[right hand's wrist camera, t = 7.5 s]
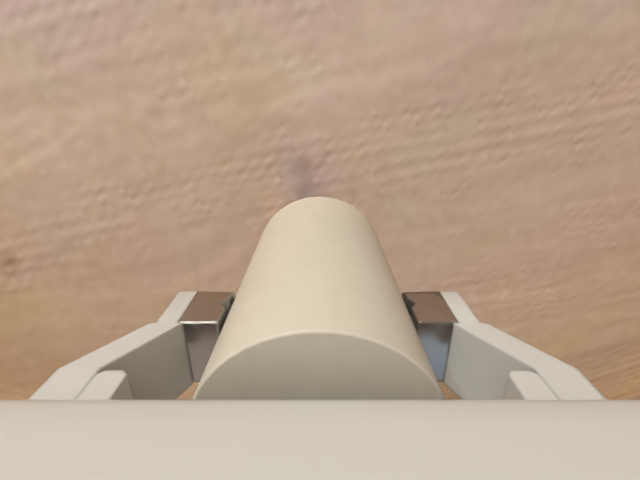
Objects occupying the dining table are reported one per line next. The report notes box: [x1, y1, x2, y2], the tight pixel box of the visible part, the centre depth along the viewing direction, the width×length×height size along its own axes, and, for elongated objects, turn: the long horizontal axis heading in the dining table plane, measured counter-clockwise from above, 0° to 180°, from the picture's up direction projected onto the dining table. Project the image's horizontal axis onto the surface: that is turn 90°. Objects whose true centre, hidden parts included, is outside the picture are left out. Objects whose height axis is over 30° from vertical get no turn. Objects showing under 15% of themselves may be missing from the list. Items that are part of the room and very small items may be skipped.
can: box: [192, 197, 445, 400], centre depth 10 cm, size 5×5×8 cm
